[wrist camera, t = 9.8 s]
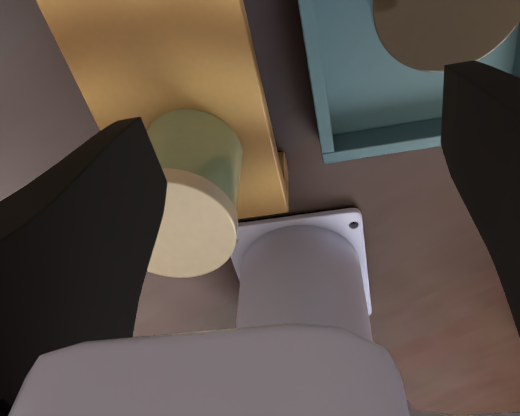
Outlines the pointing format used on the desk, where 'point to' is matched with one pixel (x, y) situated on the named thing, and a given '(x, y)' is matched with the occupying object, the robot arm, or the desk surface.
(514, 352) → the desk surface
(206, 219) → the green jar
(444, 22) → the amber jar
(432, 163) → the desk surface
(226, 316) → the desk surface
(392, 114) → the tray
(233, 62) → the flat wooden board
